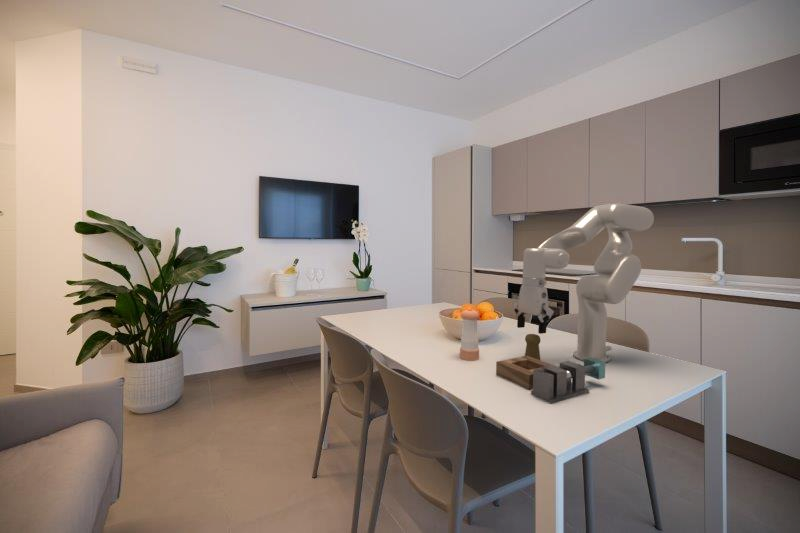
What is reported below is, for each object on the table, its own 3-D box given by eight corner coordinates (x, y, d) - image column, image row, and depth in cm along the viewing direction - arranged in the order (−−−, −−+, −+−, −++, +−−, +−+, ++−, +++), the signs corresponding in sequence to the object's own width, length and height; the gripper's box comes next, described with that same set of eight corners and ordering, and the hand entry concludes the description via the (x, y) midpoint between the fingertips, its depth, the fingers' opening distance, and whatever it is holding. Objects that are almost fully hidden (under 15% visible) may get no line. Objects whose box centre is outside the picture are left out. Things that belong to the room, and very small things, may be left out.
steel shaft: (589, 372, 114) (590, 357, 113) (605, 377, 109) (605, 361, 109) (553, 382, 106) (553, 365, 106) (567, 388, 101) (568, 370, 101)
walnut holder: (526, 368, 125) (526, 355, 125) (560, 381, 113) (561, 367, 112) (496, 374, 119) (496, 361, 118) (529, 389, 106) (529, 375, 106)
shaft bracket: (567, 384, 111) (568, 359, 110) (588, 392, 104) (589, 366, 104) (530, 394, 103) (531, 367, 103) (551, 403, 97) (551, 375, 96)
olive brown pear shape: (542, 367, 126) (543, 337, 125) (524, 366, 127) (525, 336, 126) (539, 362, 132) (540, 333, 131) (522, 361, 133) (522, 332, 132)
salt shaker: (483, 358, 136) (483, 308, 135) (469, 361, 132) (470, 310, 131) (469, 353, 142) (469, 306, 141) (455, 356, 138) (456, 307, 137)
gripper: (561, 285, 122) (558, 334, 122) (522, 280, 137) (520, 324, 138) (546, 285, 118) (543, 336, 119) (507, 280, 133) (505, 326, 134)
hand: (531, 330), depth 128 cm, fingers open, 9 cm apart
